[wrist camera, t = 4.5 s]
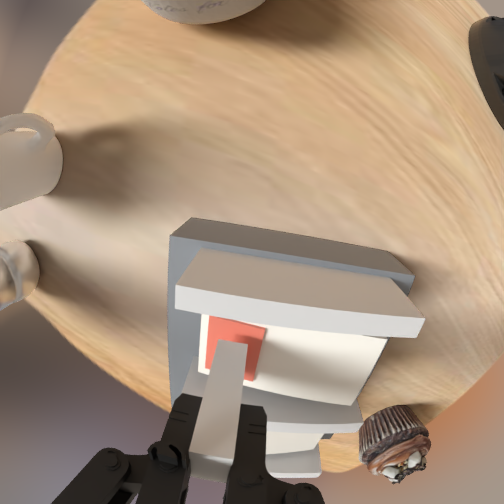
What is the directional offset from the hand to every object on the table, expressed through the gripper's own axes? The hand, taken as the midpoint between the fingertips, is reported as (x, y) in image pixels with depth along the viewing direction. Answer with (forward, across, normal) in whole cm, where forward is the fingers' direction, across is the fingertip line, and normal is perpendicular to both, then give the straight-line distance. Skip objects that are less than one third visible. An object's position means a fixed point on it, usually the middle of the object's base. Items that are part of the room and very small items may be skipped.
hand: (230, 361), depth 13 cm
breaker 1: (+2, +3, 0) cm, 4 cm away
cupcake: (+10, +22, -19) cm, 31 cm away
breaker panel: (+9, +3, -5) cm, 11 cm away
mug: (+9, -20, +9) cm, 24 cm away
